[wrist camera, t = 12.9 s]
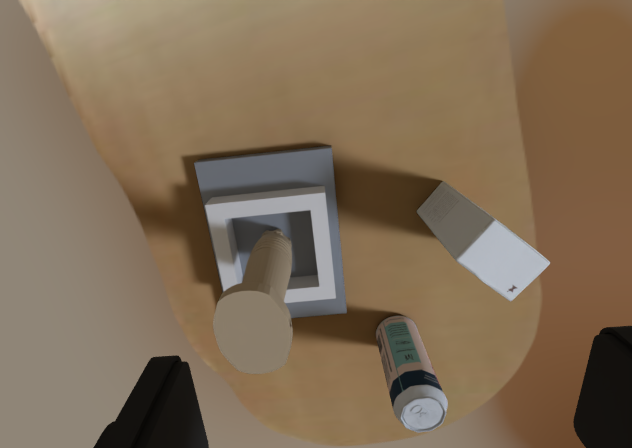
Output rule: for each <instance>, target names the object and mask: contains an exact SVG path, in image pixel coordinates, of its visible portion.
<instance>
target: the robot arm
mask: <svg viewBox="0 0 632 448" xmlns="http://www.w3.org/2000/svg"><path fill="white" fill-rule="evenodd" d="M574 428H575V431H576V434H577V436H578V437H579V439H580V440H581V442H582V443H583V444H584V446H585V447H586V448H632V326H622V327H607V328H604V329H602V330H601V331H600V333H599V335H597V336H595V338H594V340H593V344H592V348H591V352H590V356H589V360H588V364H587V368H586V372H585V376H584V380H583V384H582V388H581V392H580V396H579V400H578V405H577V408H576V413H575V416H574ZM94 448H209V447H208V440H207V436H206V432H205V428H204V424H203V420H202V416H201V412H200V408H199V404H198V400H197V396H196V392H195V388H194V384H193V379H192V376H191V371H190V367H189V364H188V363H187V362H182V361H181V359H180V357H179V356H162V357H153V358H151V359H150V361H149V362H148V364H147V366H146V367H145V369H144V371H143V373H142V374H141V376H140V378H139V380H138V382H137V383H136V385H135V387H134V389H133V390H132V392H131V394H130V396H129V397H128V399H127V401H126V403H125V405H124V407H123V408H122V410H121V412H120V413H119V415H118V417H117V419H116V421H115V422H112V423H111V424H109V425H108V426H107V427H106V428H105V430H104V431H103V433H102V434H101V436H100V438H99V439H98V441H97V443H96V445H95V446H94Z"/></svg>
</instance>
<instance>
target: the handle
mask: <svg viewBox="0 0 632 448" xmlns="http://www.w3.org/2000/svg"><path fill="white" fill-rule="evenodd" d="M291 247H292V245H291V240H290V238H289V237H286V236H285V235H284V233H283V232H282V230H281V229H276V230H273V231H269V230H266V231H265V232H264V233H263V234H262V237H261V238H260V239H259V240H258V241H257V243H256V244H255V246H254V248H253V250H252V251H251V254H250V256H249V259H248V261H247V265H246V269H245V273H244V277H243V282H242V283H240V284H236V285H234V286H231V287H230V288H228V289H227V290H225V291H224V292H223V293H222V294H221V296H220V298H219V300H218V303H217V307H216V311H215V315H214V320H213V329H214V334H215V337H216V340H217V344H218V346H219V349H220V351H221V353H222V354H223V355H224V357H225V358H226V359H227V360H228V361H229V362H230V363H231V364H232V365H233V366H234V367H235V368H236V369H237V370H238V371H241V372H244V373H248V374H263V373H268V372H272V371H275V370H277V369H279V368H281V367H282V366H283V365H285V364H286V361H287V358H288V355H289V352H290V348H291V343H292V334H293V329H292V322H291V315H290V312H289V309H288V308H287V306H286V304H285V302H284V298H285V294H286V290H287V286H288V282H289V279H290V275H291V268H292V250H291Z"/></svg>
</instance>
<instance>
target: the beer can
mask: <svg viewBox="0 0 632 448" xmlns="http://www.w3.org/2000/svg"><path fill="white" fill-rule="evenodd" d="M376 339H377V343H378V347H379V352H380V356H381V360H382V364H383V368H384V373H385V377H386V381H387V385H388V389H389V393H390V398H391V402H392V406H393V410H394V414H395V416H396V417H397V418H398V420H399V421H400V422H401V423H402V424H403V425H404V426H405V427H406V428H408V429H410V430H413V431H415V432H426V431H432V430H434V429H435V428H437V427H438V426H439V425H441V424H442V423H443V421H444V418H445V415H446V409H447V398H446V396H445V395H444V393H443V391H442V388H441V386H440V384H439V381H438V379H437V376H436V374H435V372H434V369H433V367H432V364H431V362H430V359H429V357H428V355H427V352H426V350H425V347H424V345H423V343H422V340H421V338H420V335H419V333H418V330H417V327H416V325H415V323H414V322H413V321H412V320H411V319H409V318H407V317H404V316H392V317H389V318H386V319H385V320H383V321H382V322H381V323H380V324H379V326H378V327H377V330H376Z"/></svg>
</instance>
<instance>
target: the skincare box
mask: <svg viewBox="0 0 632 448" xmlns="http://www.w3.org/2000/svg"><path fill="white" fill-rule="evenodd" d="M416 212H417V214H418V215H419V216H420V217H421V218H422V220H423V221H424V222H425V223H426V225H427V226H428V227H429V228H430V230H431V231H432V232H433V233H434V235H435V236H436V237H437V238H438V240H439V241H440V242H441V243H442V244H443V246H444V247H445V248H446V249H447V250H448V252H449V253H450V254H451V255H452V257H453V258H454V259H455V260H456V261H457V262H458V263H459V264H461V265H462V266H463V267H465V268H466V269H467V270H469V271H470V272H471V273H473V274H474V275H475V276H477V277H478V278H479V279H480V280H481V281H482V282H484V283H485V284H487V285H488V286H490V287H491V288H492V289H494V290H495V291H496V292H498V293H499V294H501V295H502V296H503V297H505V298H506V299H508V300H509V301H512V300H513V299H514V298H515V297H516V296H517V295H518V294H519V293H520V292H521V291H522V290H523V289H524V288H526V287H527V286H528V285H529V284H530V283H531V282H532V281H533V280H534V279H535V278H536V277H537V276H538V275H539V274H540V273H541V272H542V271H543V270H544V269H545V268H546V267H547V266H548V265H549V264H550V262H549V261H548V260H547V259H546V258H545V257H543V256H542V255H541V254H540V253H539V252H538V251H536V250H535V249H534V248H533V247H531V246H530V245H529V244H527V243H526V242H525V241H524V240H522V239H521V238H520V237H518V236H517V235H516V234H515V233H513V232H512V231H511V230H509V229H508V228H507V227H506V226H504V225H503V224H502V223H500V222H499V221H498V220H496V219H495V218H494V217H492V216H491V215H490V214H488V213H487V212H486V211H484V210H483V209H482V208H480V207H479V206H477V205H476V204H475V203H473V202H472V201H471V200H469V199H468V198H466V197H465V196H464V195H462V194H461V193H459V192H458V191H457V190H455V189H454V188H453V187H451V186H450V185H448V184H447V183H446V182H444V181H443V182H441V183H440V185H439V186H438V187H437V188H436V189H435V191H434V192H433V193H432V194H431V195H430V196H429V197H428V199H427V200H426V201H425V202H424V203H423V204H422V205H421V206H420V208H419V209H418V210H417V211H416Z"/></svg>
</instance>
